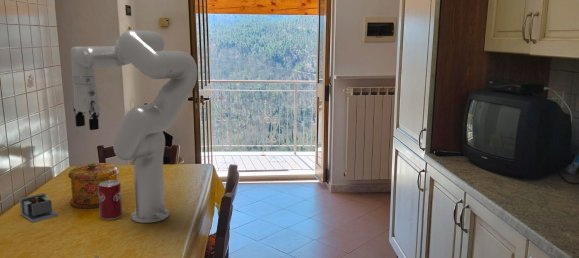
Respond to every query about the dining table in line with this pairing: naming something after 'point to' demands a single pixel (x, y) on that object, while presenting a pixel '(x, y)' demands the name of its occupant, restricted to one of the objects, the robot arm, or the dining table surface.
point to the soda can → (110, 200)
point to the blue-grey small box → (41, 207)
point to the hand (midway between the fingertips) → (87, 127)
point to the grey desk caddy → (27, 208)
